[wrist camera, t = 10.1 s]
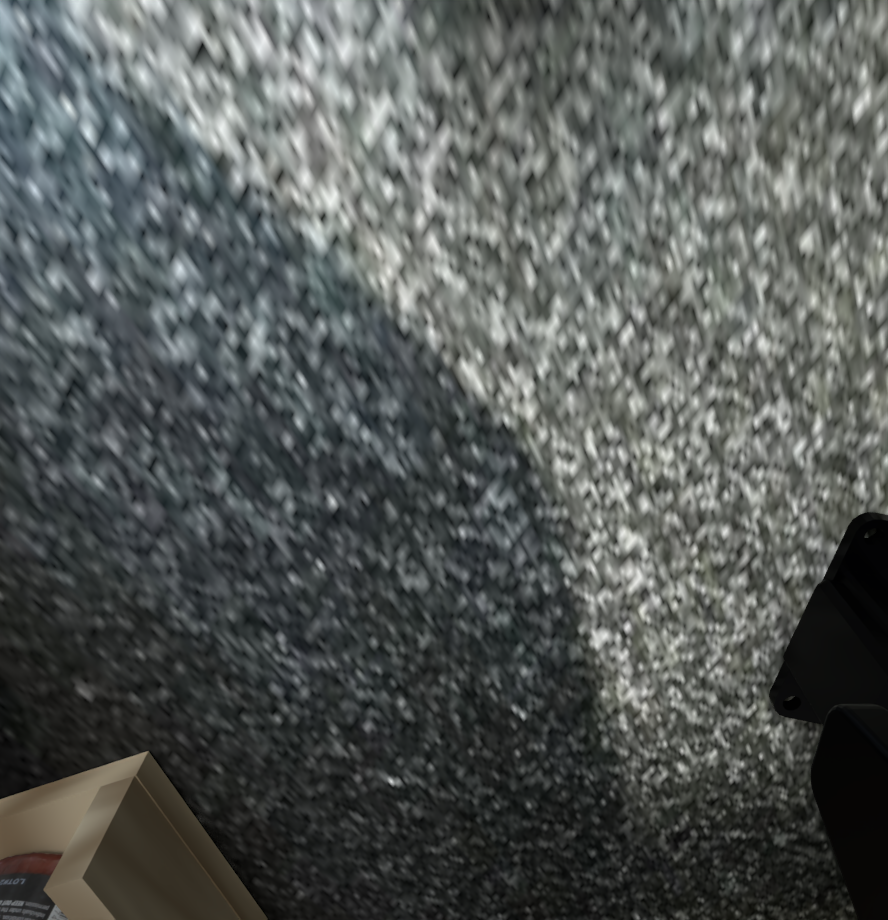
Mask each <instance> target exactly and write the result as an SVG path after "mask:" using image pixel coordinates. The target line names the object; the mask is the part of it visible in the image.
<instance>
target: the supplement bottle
mask: <svg viewBox="0 0 888 920" xmlns="http://www.w3.org/2000/svg"><path fill="white" fill-rule="evenodd" d="M61 857H62V854H47V853H35V852H33V853H30V854H22V855H15V856H9V857H6V858H4V859H1V860H0V920H68V918H67V917H66V916H65V915H64V914H63V912H62V911H61V910H60V909H59V908H58V907H57V905H56V904H55V903H54V902H53V901H52V899H51V898H50V897H49V896H48V895H47V894H46V892H45V891H44V890H43V889H44V888H45V886H46V884H47V882H48V880H49V879H50V877H51V875H52V873H53V871H54V870H55V868H56V866H57V864H58V862H59V861H60V859H61Z"/></svg>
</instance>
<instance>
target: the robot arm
mask: <svg viewBox="0 0 888 920" xmlns="http://www.w3.org/2000/svg"><path fill="white" fill-rule="evenodd" d="M872 528H877V531H876V532H875V534H874V535H873V536H870V537H868V538H864V535H865V534H866V532H867V531H868V530H870V529H872ZM784 660H785V661H784V663H783V665H782V667H781V669H780V671H779V673H778V675H777V677H776V680H775V682H774V684H773V686H772V688H771V690H770V694H769V698H770V701H771V703H772V705H773V707H774V709H775V711H776V712H777V713H778V714H779V715H782V716H784V717H788V718H793V719H798V720H803V721H808V722H814V723H819V724H822V725H823V730H822V733H821V736H820V740H819V743H818V746H817V749H816V753H815V756H814V759H813V763H812V767H811V785H812V790H813V793H814V797H815V800H816V802H817V805H818V808H819V811H820V814H821V816H822V819H823V822H824V825H825V828H826V830H827V833H828V836H829V839H830V842H831V844H832V847H833V850H834V853H835V856H836V858H837V861H838V864H839V867H840V870H841V872H842V875H843V878H844V881H845V884H846V886H847V889H848V892H849V895H850V898H851V900H852V903H853V906H854V909H855V912H856V914H857V917H858V920H888V515H884V514H879V513H871V512H867V513H864V514H861V515H859V516H857V517H856V518H854V519H853V520H852V522H851V523H850V525H849V526H848V528H847V530H846V532H845V535H844V537H843V539H842V541H841V543H840V545H839V547H838V549H837V551H836V553H835V556H834V558H833V560H832V562H831V564H830V566H829V568H828V570H827V572H826V574H825V577H824V579H823V581H822V582H821V583H819V584H818V585H817V586H816V588H815V590H814V592H813V594H812V596H811V599H810V601H809V603H808V605H807V607H806V609H805V611H804V613H803V615H802V618H801V620H800V622H799V624H798V626H797V628H796V630H795V632H794V634H793V637H792V639H791V641H790V643H789V645H788V647H787V649H786V651H785V653H784ZM790 696H795V697H794V698H793V699H791V700H789V701H784V700H785V699H786V698H788V697H790Z"/></svg>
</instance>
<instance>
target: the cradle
mask: <svg viewBox="0 0 888 920" xmlns="http://www.w3.org/2000/svg"><path fill="white" fill-rule="evenodd" d="M33 852H35V853H47V854H62V857H61V859H60V861H59V862H58V864H57V866H56V868H55V870H54V871H53V873H52V875H51V877H50V879H49V880H48V882H47V884H46V886H45V888H44V889H43V890H44V891H45V892H46V894H47V895H48V896H49V897H50V898H51V899H52V901H53V902H54V903H55V904H56V905H57V907H58V908H59V909H60V910H61V911H62V912H63V914H64V915H65V916H66V917H67V918H68V920H267V919H268V918H267V917H266V915H265V914H264V913H263V911H262V910H261V908H260V907H259V906H258V904H257V903H256V901H255V900H254V899H253V897H252V896H251V894H250V893H249V892H248V890H247V889H246V887H245V886H244V885H243V883H242V882H241V880H240V879H239V877H238V876H237V875H236V873H235V872H234V870H233V869H232V868H231V866H230V865H229V863H228V862H227V861H226V859H225V858H224V856H223V855H222V854H221V852H220V851H219V849H218V848H217V847H216V845H215V844H214V842H213V841H212V839H211V838H210V837H209V835H208V834H207V832H206V831H205V830H204V828H203V827H202V825H201V824H200V823H199V821H198V820H197V818H196V817H195V816H194V814H193V813H192V811H191V810H190V809H189V807H188V806H187V804H186V803H185V801H184V800H183V799H182V797H181V796H180V794H179V793H178V792H177V790H176V789H175V787H174V786H173V785H172V783H171V782H170V780H169V779H168V778H167V776H166V775H165V773H164V772H163V771H162V769H161V768H160V766H159V765H158V764H157V762H156V761H155V759H154V758H153V756H152V755H151V754H150V752H149V751H147V752H143V753H140V754H137V755H134V756H131V757H128V758H125V759H122V760H119V761H116V762H113V763H110V764H107V765H104V766H101V767H98V768H95V769H92V770H88V771H85V772H82V773H79V774H76V775H73V776H70V777H67V778H64V779H61V780H58V781H55V782H52V783H49V784H46V785H43V786H40V787H36V788H33V789H30V790H27V791H24V792H21V793H18V794H15V795H12V796H9V797H6V798H3V799H0V860H1V859H4V858H6V857H9V856H15V855H22V854H30V853H33Z"/></svg>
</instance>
